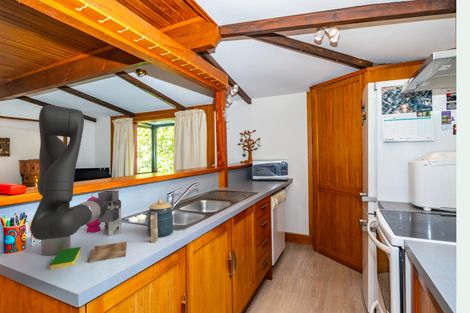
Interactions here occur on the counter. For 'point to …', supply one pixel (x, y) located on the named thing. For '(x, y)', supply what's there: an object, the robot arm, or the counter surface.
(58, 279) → the counter surface
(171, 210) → the canister
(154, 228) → the post
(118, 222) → the coffee box
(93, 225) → the pepper mill
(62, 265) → the dish sponge
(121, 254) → the tray
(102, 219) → the grey square container
